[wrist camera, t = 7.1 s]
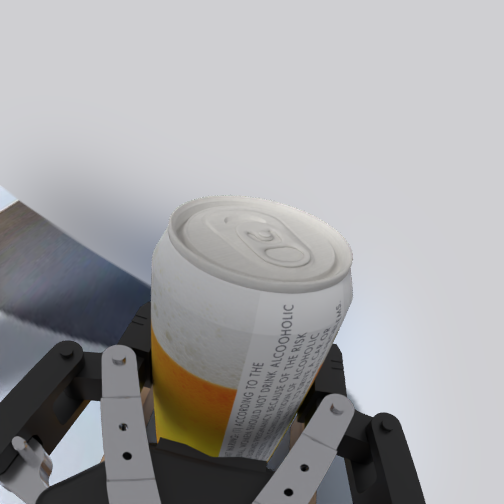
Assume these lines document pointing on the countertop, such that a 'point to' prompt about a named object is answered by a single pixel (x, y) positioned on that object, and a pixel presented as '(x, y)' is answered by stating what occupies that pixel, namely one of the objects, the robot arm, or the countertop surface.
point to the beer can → (242, 320)
